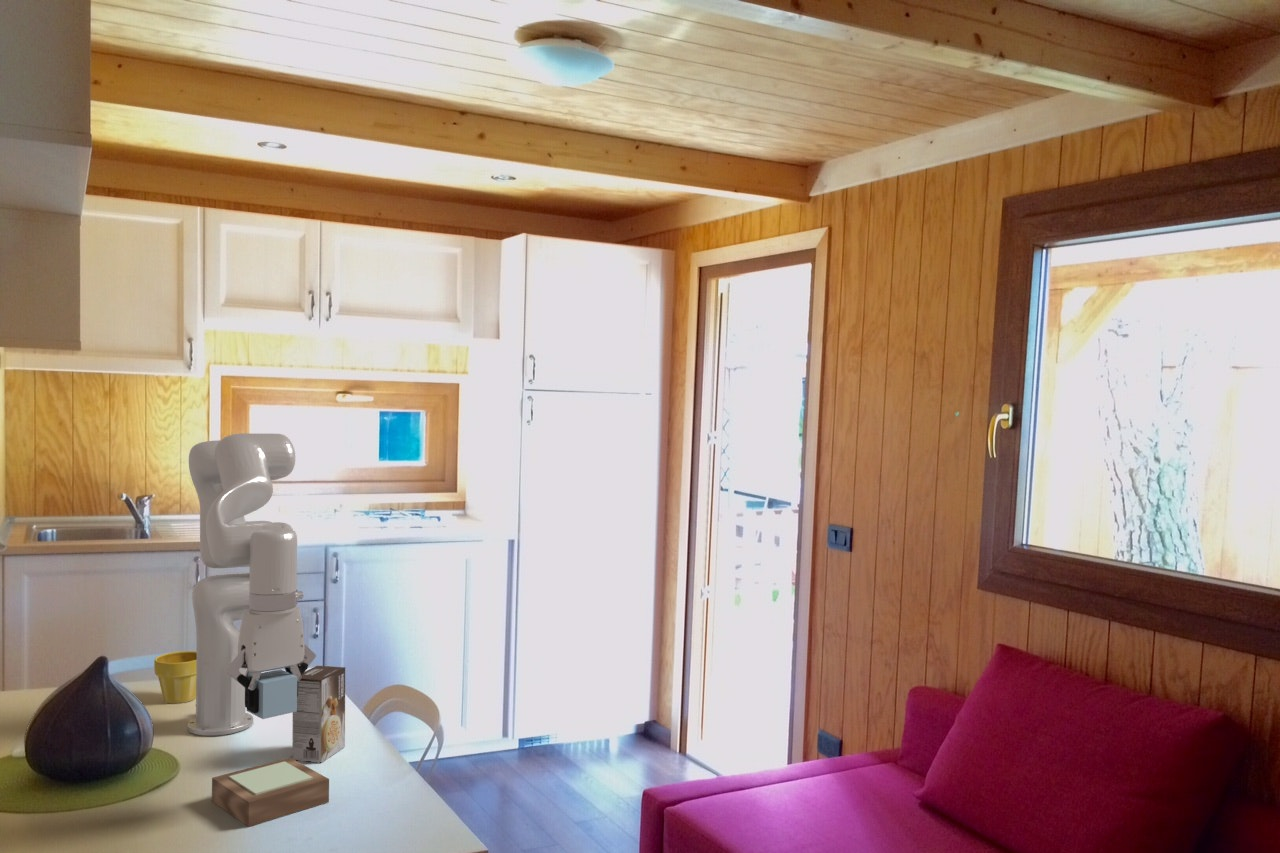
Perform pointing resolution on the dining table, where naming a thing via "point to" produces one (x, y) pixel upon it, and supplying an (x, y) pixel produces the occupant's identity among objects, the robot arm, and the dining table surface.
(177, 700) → the plant pot
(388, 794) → the dining table surface
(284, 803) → the plinth
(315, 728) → the coffee box
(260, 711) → the cube
